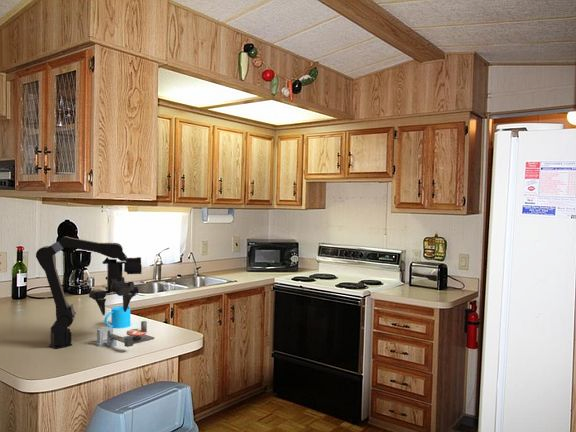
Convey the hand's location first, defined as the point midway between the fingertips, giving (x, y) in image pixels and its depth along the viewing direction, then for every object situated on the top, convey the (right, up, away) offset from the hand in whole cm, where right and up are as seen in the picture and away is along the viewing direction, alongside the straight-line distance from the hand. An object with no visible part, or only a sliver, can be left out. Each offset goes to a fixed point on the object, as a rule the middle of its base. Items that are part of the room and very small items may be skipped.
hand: (114, 313), depth 195 cm
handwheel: (+8, -10, +4) cm, 13 cm away
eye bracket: (-2, -12, -3) cm, 12 cm away
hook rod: (+5, -10, -9) cm, 14 cm away
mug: (-7, -11, +23) cm, 27 cm away
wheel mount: (+8, -12, +4) cm, 14 cm away
